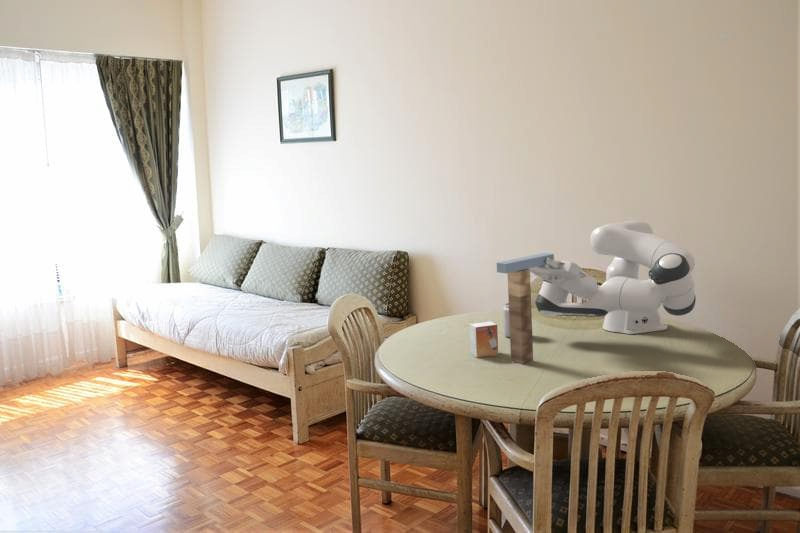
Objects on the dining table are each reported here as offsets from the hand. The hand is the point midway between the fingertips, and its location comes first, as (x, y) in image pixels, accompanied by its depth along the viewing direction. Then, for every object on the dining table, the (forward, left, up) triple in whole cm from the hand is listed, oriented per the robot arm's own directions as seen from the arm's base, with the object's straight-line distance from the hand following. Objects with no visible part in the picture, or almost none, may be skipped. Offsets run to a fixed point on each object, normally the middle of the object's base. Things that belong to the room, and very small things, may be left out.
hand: (539, 259), depth 235 cm
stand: (+8, +6, -32) cm, 33 cm away
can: (+4, -25, -32) cm, 41 cm away
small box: (+18, -5, -32) cm, 37 cm away
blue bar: (+5, +4, -2) cm, 7 cm away
